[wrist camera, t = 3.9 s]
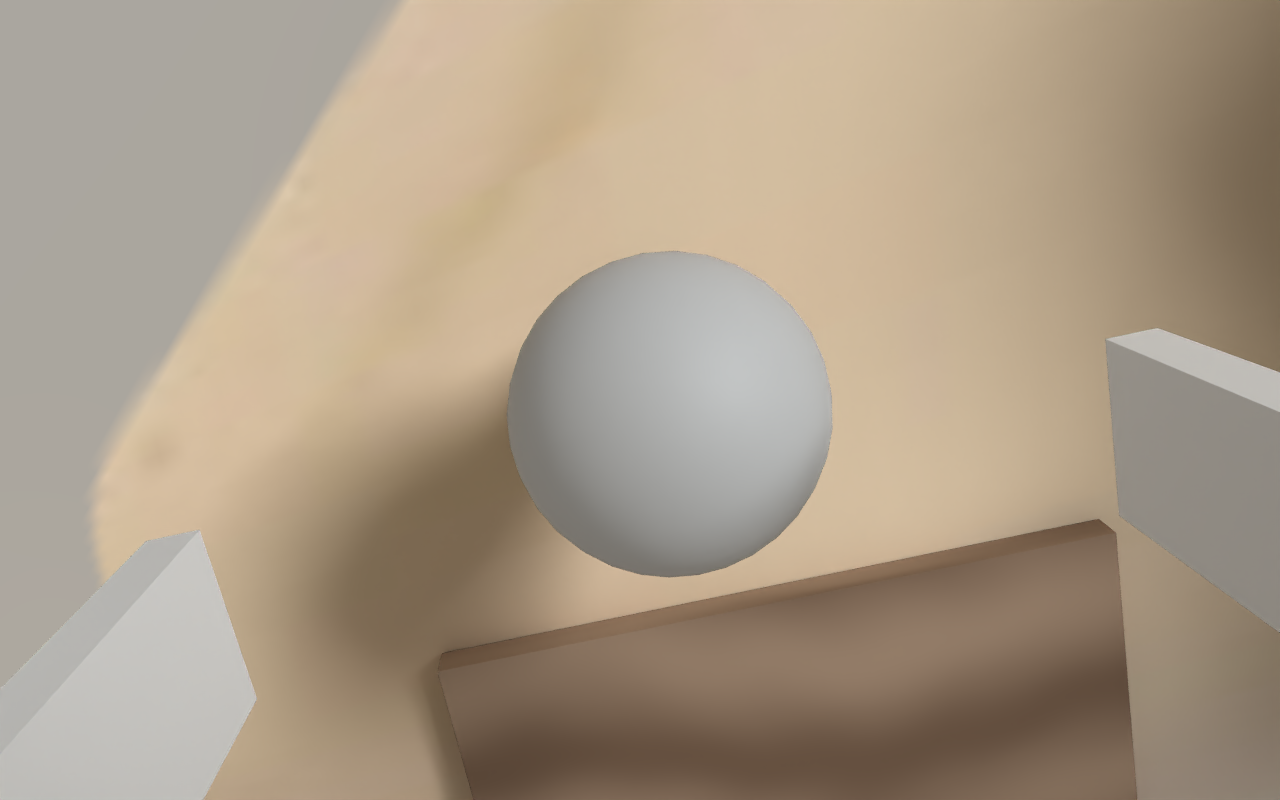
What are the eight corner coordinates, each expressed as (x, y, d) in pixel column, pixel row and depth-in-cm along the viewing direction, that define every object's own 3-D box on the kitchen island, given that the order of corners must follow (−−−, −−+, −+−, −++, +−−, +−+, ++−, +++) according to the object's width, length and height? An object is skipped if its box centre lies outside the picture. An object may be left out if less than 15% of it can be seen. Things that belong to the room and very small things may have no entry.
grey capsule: (775, 419, 28) (888, 603, 18) (553, 457, 28) (533, 665, 18) (744, 193, 27) (849, 247, 16) (509, 234, 27) (458, 316, 16)
